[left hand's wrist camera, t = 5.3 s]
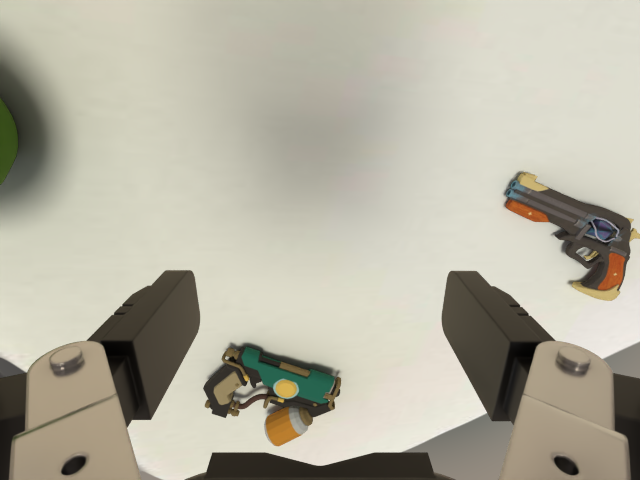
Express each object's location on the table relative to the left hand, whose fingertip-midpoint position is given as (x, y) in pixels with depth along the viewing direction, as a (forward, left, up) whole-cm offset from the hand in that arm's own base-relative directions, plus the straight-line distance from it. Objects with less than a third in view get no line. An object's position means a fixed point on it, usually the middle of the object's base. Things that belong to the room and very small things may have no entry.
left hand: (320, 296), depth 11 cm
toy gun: (+9, +29, -29) cm, 42 cm away
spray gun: (+31, -7, -29) cm, 43 cm away
